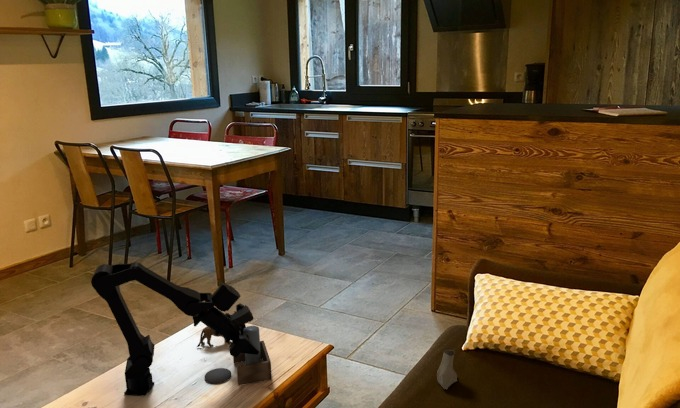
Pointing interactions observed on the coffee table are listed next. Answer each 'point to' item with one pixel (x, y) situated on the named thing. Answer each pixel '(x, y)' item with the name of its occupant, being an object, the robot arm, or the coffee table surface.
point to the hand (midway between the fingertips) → (257, 349)
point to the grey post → (255, 341)
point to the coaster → (217, 375)
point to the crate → (254, 368)
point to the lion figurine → (208, 336)
